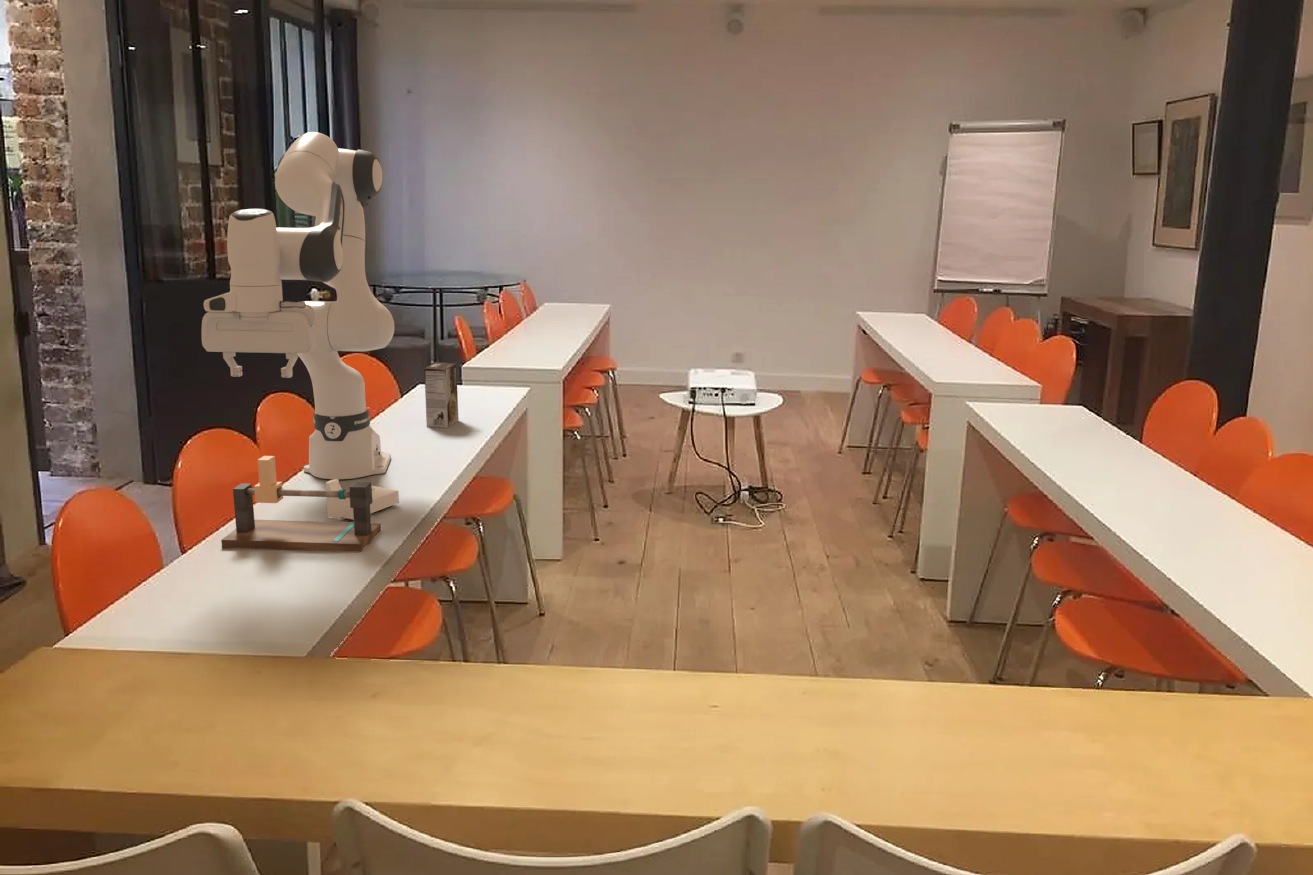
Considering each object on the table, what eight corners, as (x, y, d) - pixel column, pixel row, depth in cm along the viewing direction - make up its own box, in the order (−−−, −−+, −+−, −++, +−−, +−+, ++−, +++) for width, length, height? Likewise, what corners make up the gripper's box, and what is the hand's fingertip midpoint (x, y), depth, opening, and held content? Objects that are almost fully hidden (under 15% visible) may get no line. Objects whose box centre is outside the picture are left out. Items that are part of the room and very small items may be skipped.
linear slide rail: (249, 526, 214) (245, 472, 211) (381, 530, 212) (378, 475, 210) (221, 547, 202) (216, 490, 200) (361, 551, 201) (357, 494, 198)
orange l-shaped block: (262, 497, 208) (259, 455, 206) (283, 498, 207) (280, 456, 206) (255, 502, 205) (251, 459, 203) (276, 503, 204) (273, 460, 202)
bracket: (354, 524, 217) (352, 487, 215) (327, 518, 220) (325, 482, 219) (399, 507, 228) (397, 471, 227) (372, 501, 232) (371, 467, 230)
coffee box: (436, 419, 305) (434, 361, 301) (459, 420, 304) (457, 362, 300) (425, 427, 296) (423, 367, 293) (448, 428, 296) (446, 368, 292)
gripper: (319, 300, 201) (323, 375, 204) (210, 298, 203) (216, 372, 206) (306, 303, 195) (311, 380, 198) (194, 301, 197) (200, 378, 199)
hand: (261, 376), depth 202 cm, fingers open, 8 cm apart
